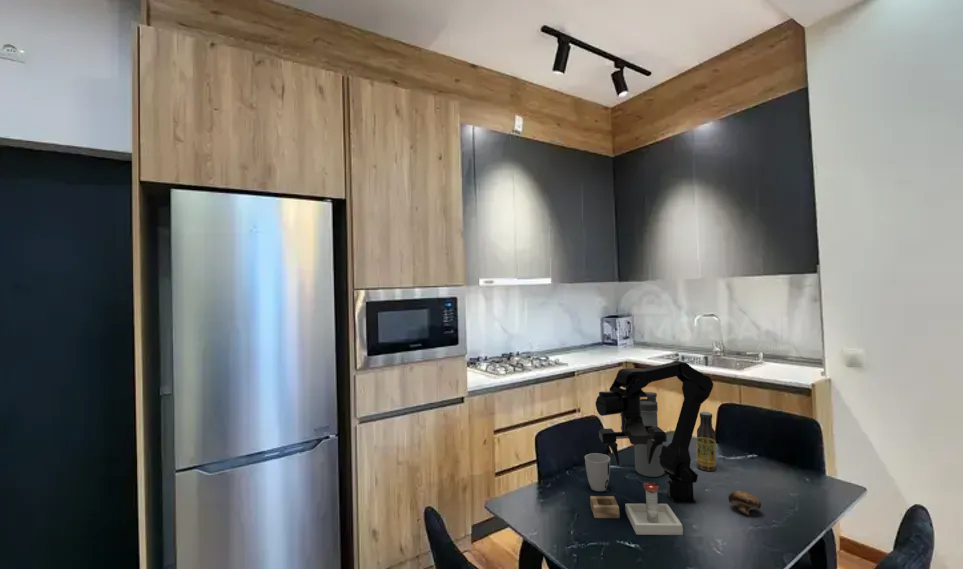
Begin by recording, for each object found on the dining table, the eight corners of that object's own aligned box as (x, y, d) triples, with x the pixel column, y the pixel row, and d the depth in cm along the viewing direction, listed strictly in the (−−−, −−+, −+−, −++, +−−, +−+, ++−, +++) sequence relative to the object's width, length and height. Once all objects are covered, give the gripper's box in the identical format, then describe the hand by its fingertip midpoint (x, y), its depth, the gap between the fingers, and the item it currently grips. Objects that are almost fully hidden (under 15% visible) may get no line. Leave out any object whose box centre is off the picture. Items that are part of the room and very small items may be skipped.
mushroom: (747, 510, 121) (746, 487, 125) (722, 510, 128) (721, 488, 131) (768, 520, 123) (766, 496, 126) (742, 519, 130) (741, 497, 133)
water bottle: (633, 475, 154) (629, 395, 155) (635, 465, 163) (631, 389, 164) (664, 479, 150) (661, 397, 151) (664, 468, 159) (661, 390, 160)
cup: (612, 494, 141) (611, 462, 141) (586, 492, 143) (585, 461, 143) (610, 483, 149) (608, 453, 149) (585, 482, 150) (584, 452, 151)
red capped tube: (657, 517, 125) (656, 481, 125) (662, 524, 121) (660, 487, 121) (643, 517, 125) (641, 481, 125) (647, 524, 121) (645, 487, 121)
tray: (667, 512, 128) (667, 503, 128) (682, 535, 116) (682, 525, 116) (625, 512, 129) (625, 503, 129) (636, 534, 117) (635, 525, 117)
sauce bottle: (695, 470, 157) (693, 414, 158) (697, 463, 162) (695, 409, 163) (716, 473, 154) (713, 416, 154) (717, 467, 159) (715, 411, 159)
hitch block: (614, 506, 133) (613, 496, 133) (619, 518, 126) (619, 507, 126) (590, 506, 134) (590, 496, 134) (594, 517, 127) (594, 507, 127)
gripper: (606, 420, 125) (608, 475, 125) (672, 418, 124) (675, 474, 124) (597, 409, 136) (599, 460, 136) (658, 408, 135) (661, 459, 135)
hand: (633, 463), depth 132 cm, fingers open, 9 cm apart
